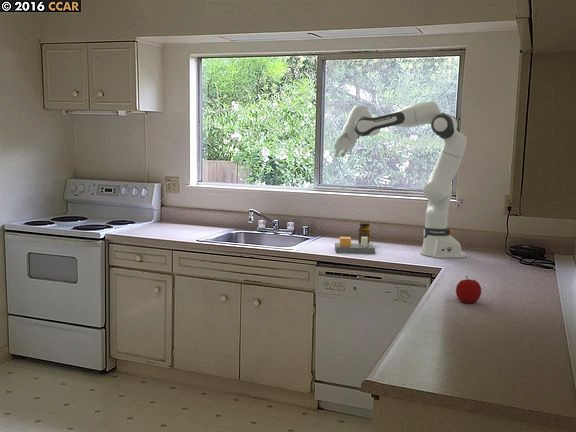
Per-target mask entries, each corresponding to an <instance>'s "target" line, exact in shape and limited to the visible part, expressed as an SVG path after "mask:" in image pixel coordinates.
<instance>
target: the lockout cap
mask: <svg viewBox="0 0 576 432" xmlns="http://www.w3.org/2000/svg"><path fill="white" fill-rule="evenodd" d="M338 243H339V244H340V246H351V243H352V237H351V236H339V242H338Z"/></svg>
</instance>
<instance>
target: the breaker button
mask: <svg viewBox="0 0 576 432" xmlns="http://www.w3.org/2000/svg"><path fill="white" fill-rule="evenodd" d="M367 245H368V237H361V246H367Z"/></svg>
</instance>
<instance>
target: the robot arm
mask: <svg viewBox="0 0 576 432" xmlns="http://www.w3.org/2000/svg"><path fill="white" fill-rule="evenodd" d="M422 125H430V127H431V130H432V131H433V133H434V134H436V136H438V137H439V138H441V139H443V144H442V148H441V150H440V153H439V154H438V158H437V160H436V163H435V165H434V168H433V169H432V171H431V173H430V175H429V177H428V179H427V181H426V184H425V185H424V187H423V189H422V192H423V196H424V197H425V198H426V199H427V200H428V203H427V207H426V210H425V218H424V221H425V223H424V227H423V241H422V242H423V243H422V246H421V250H420V254H421V255H423V256H425V257H432V258H437V259H442V258H443V259H449V258H450V259H452V258H456V259H457V258H466V253H465V252H463V251H462V246H461V243H460V242H459V241H458V240H457V239H455V238H454V237H453V236H452V234H454V230H453V229H451V228H449V227H448V219H449V218H448V217H449V208H450V203H451V198H452V192H453V185H452V181H453V179H454V178H455V176H456V174H457V173H458V169H459V167H460V165H461V162H462V159H463V157H464V155H465V151H466V147H467V141H468V139H467V137H466V135H465V134H464V133H461V132H459V131H458V129H459V121H458V119H457V118H456V116H454V115H452V114H449V113H446V112H441V110H440V107H439V105H438V104H437V103H436V102H435V101H426V102H419V103H415V104H412V105H408V106H406V107H404V108H402V109H399V110H397V111H394V112H392V113H388V114H383V115H380V116H374V115H373V114H372V112H370V109H369V107H367V106H364V105H361V104H356V105H354V107H353V108H352V109H351V111H350V112H349V115H348V117H347V121H346V123H344V125H343V128H342V130H341V132H340V133H341V134H340V135H339V136H338V138H337V140H336V141H335V144H334V146H333V147H334V149H335V153H334V158H339V156H341V157H342V158H344V157H345V156H346V155H347V153H349V150H353V148H354V146H355V145H356V143H357V140H359V139H360V137H371V136H372V137H373V136H376V135H378V134H379V133H380V131H381V130H382V129H386V128H389V127H402V128H415V127H420V126H422ZM341 151H342V152H341ZM340 152H341V154H340Z"/></svg>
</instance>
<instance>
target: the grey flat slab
mask: <svg viewBox="0 0 576 432" xmlns="http://www.w3.org/2000/svg"><path fill="white" fill-rule="evenodd" d="M334 251H335V253H336V254H356V255H357V254H359V255H360V254H361V255H376V247H375V245H374V244H373V243H369V244H368V245H367V246H361V244H358V243H356V242H354V243H352V242H351V246H340V244H339V242H334Z"/></svg>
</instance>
